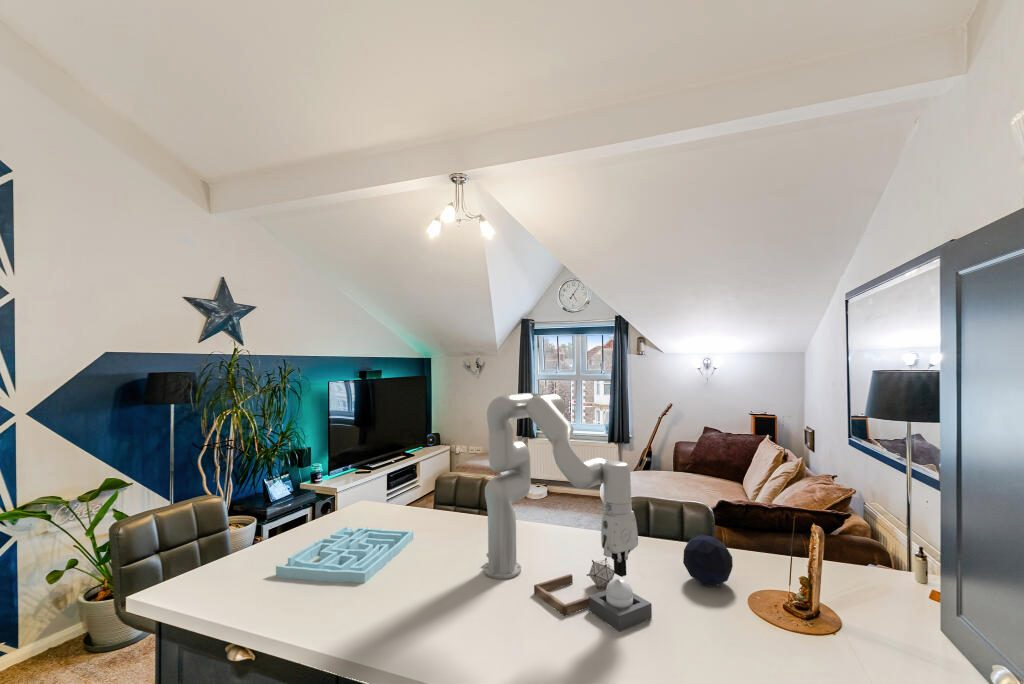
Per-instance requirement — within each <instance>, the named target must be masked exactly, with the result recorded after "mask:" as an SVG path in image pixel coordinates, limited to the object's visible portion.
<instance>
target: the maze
mask: <svg viewBox="0 0 1024 684" xmlns="http://www.w3.org/2000/svg"><path fill="white" fill-rule="evenodd" d="M413 540H414V531H413V530H398V529H397V530H396V529H382V528H369V527H360V526H359V527H355V529H353V527H349V528H348V526H347V525H346V526H343V527H341V528H340V529H337V530H336V531H334V532H332V533H330V537H329V538H328V537H322V538H321V539H319V540H317V541H314V542H312V543H311V544H309V545H308V546H306V547H304V548H302V549H301V550H299V551H297V552H295V553H294V554H292V555H290V556H289V557H287V565H282V564H276V565H275V576H276V577H279V578H285V579H297V580H306V581H317V582H320V581H321V582H327V583H328V582H329V583H356V584H357V583H358V584H366V583H367V582H368V581H370V579H371V578H373V577H374V576H375V575H376V574H377V573H378V572H379V571H381V570H382V569H383V568H384V567H385V566H386V565H387V564H388V563H390V562H391V561H392V560H393V559H394V558H395V557H396V556H398V555H399V554H400V553H401V552H402V551H403V549H405V548H406V546H408V544H410V543H411V542H412V541H413ZM319 555H320V556H319ZM318 556H319V557H320V561H319V562H312V561H311V560H313V559H314V558H316V557H318ZM358 560H359V561H358Z"/></svg>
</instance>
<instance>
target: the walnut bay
mask: <svg viewBox="0 0 1024 684" xmlns="http://www.w3.org/2000/svg"><path fill="white" fill-rule="evenodd" d="M573 578H574V577H573V574H571V573H570V574H565V575H562V576H560V577H557V578H553V579H550V580H546V581H544V582H540V583H537V584H534V585H533V593H534V595H536V597H538V598H539V599H541V600H542V601H543V602H545V603H546V605H549V606H550V607H551V608H553V609H554V608H555V609H556V610H555V609H554V610H555V611H556V612H558V611H559V612H560V613H559V612H558V613H559V614H561V615H562V614H563V615H564V616H563V615H562V616H563V617H566V615H567V616H569V615H572V614H575V613H577V612H576V611H578V612H580V611H579V610H581V611H583V610H585V608H586V609H589V608H588V607H589V596H592V595H593V594H590V595H588V596H585V597H582V598H579V599H577V600H574V601H571V602H568V603H566V604H565V603H564V602H562V601H561V600H560V599H558V598H557V597H555V596H554V595H552V594H551V593H550V592H549V591H553V590H556V589H559V588H562V587H561V586H563V587H565V586H564V585H566V586H568V585H567V584H569V585H571V584H570V583H572V584H573V580H574V579H573ZM558 587H559V588H558ZM555 588H556V589H555ZM600 592H601V591H600ZM600 592H598V593H600ZM582 609H583V610H582ZM574 612H575V613H574ZM571 613H572V614H571Z"/></svg>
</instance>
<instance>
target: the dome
mask: <svg viewBox="0 0 1024 684" xmlns="http://www.w3.org/2000/svg"><path fill="white" fill-rule="evenodd" d="M605 589H606V590H605V591H606V602H607V603H608V604H610V605H611V606H613V607H615V608H616V609H618V610H622V609H624V608H627V607H629V606H632V605H633V593H634V591H633V588H632V585H631V584H630V583H629V582H628V581H627V580H626V579H624V578H623V577H622V578H621V577H615V578H614V577H613V579H612V580H611V581H610V582H609V583H608V585H607V586H606V588H605Z"/></svg>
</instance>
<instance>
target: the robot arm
mask: <svg viewBox="0 0 1024 684" xmlns="http://www.w3.org/2000/svg"><path fill="white" fill-rule="evenodd" d="M565 412H566V404H565V401H564V399H562V397H561V396H560V395H558V394H556V393H541V392H540V393H536V392H523V393H510V394H509V393H508V394H503V395H499V396H497V397H495V398H494V399H492V400H491V401H490V403H489V404H488V407H487V411H486V421H487V428H488V462H489V463H488V464H489V467H490V469H491V470H492V471H493V472H495V473H504V472H508V473H504V474H500V475H497V476H494V477H493V478H491V479H489V480H488V482H486V485H485V486H484V497H485V502H486V508H487V545H488V546H487V547H488V551H487V553H486V557H487V559H488V561H487V563H486V564H485V565H484V567H483V573H484V574H485V576H487V577H489V578H492V579H496V580H506V579H508V580H509V579H512V578H514V577H517V576H518V575H520V573H521V572H522V566H521V564H519V563H518V562H517V517H516V513H515V509H514V507H513V505H512V503H513V502H516V501H518V500H521V499H524V498H526V497H527V496H528V494H529V493H530V490H531V483H532V481H531V478H532V477H531V475H532V474H531V470H532V469H531V455H530V454H531V453H530V450H529V448H528V446H527V445H526V444H525V443H524V442H523V441H521V440H514V429H513V426H512V424H511V422H510V421H512V420H520V419H525V418H526V419H527V418H530V419H531V420H532V421H533V423H534V424H535V425H536V427H537V428H538V429H539V431H540V432H541V433H542V434H543V436H545V438H546V439H547V440H548V441H549V442H550V444H551V446H552V447H551V448H552V455H553V458H554V460H555V464H556V466H557V467H558V470H559V471H560V472H561V473H562V475H564V477H565V478H566V479H567V480H568V482H569V483H570V484H572V486H574V487H575V488H577V489H579V490H587V489H590V488H592V487H595V486H599V485H603V506H602V507H601V509H602V511H604V512H603V513H602V518H601V530H600V531H601V534H600V536H601V539H600V540H601V541H600V542H601V548H602V549H603V556H604V557H605V558H606V557H607V558H611V559H612V560H613V570H614V573H615V574H614V575H617V576H619V577H620V578H621V577H622V578H624V577H626V576H627V561H628V558H629V554H630V552H632V551H633V550H635V548H637V547H638V546H639V532H638V526H637V525H638V524H637V519H636V516H635V511H634V510H632V507H633V506H632V485H631V481H632V480H631V467H630V465H629V464H628V463H627V462H624V461H619V460H615V461H614V460H609V459H606V458H602V457H596V456H595V457H592V458H591V457H590V458H588V459H584V460H581V458H580V457H579V456H578V454H577V453H576V452H575V450H574V449H573V446H572V445H571V442H570V440H571V436H572V435H573V433H574V426H573V425H572V424H571V423H570V421H569V420H568V419H567V418H566V416H565V415H564V414H565Z"/></svg>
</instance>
